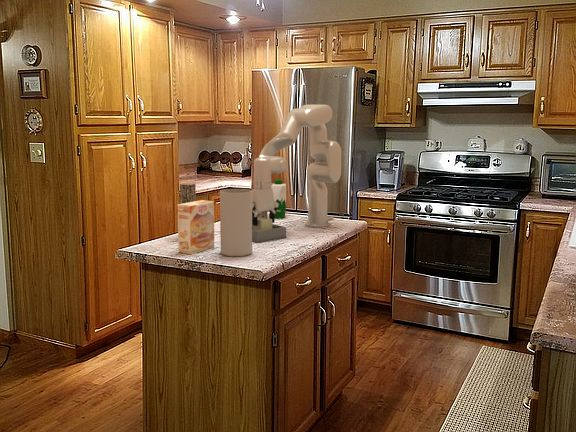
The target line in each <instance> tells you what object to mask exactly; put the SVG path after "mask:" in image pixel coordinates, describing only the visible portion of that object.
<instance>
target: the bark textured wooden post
mask: <svg viewBox="0 0 576 432" xmlns="http://www.w3.org/2000/svg"><path fill="white" fill-rule="evenodd" d="M196 189H197V188H196V182H195V181H181V182H179V204H183V203H189V202H194V201H197V200H196V199H197V198H196V197H197V195H196V193H197V192H196V191H197V190H196Z"/></svg>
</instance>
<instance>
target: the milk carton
mask: <svg viewBox="0 0 576 432" xmlns="http://www.w3.org/2000/svg"><path fill="white" fill-rule="evenodd" d="M271 188H272V190H273V195H274V201H275V202H277V203H279V205H278V209H277V211H276V213H275V220H276V219H279V220H280V219H282V220H284V218H285V217H286V213H287V212H286V211H287V184H286V183H283V180H282V179H275V180H274V183H273V185H271Z"/></svg>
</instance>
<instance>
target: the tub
mask: <svg viewBox="0 0 576 432" xmlns="http://www.w3.org/2000/svg"><path fill="white" fill-rule="evenodd" d="M286 238H287V227H286V226H282V225H279V224H275V223H272V229H268V230H262V231H255V230H253V225H252V243H256V244H259V243H266V242H271V241H277V240H282V239H283V240H284V239H286Z"/></svg>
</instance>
